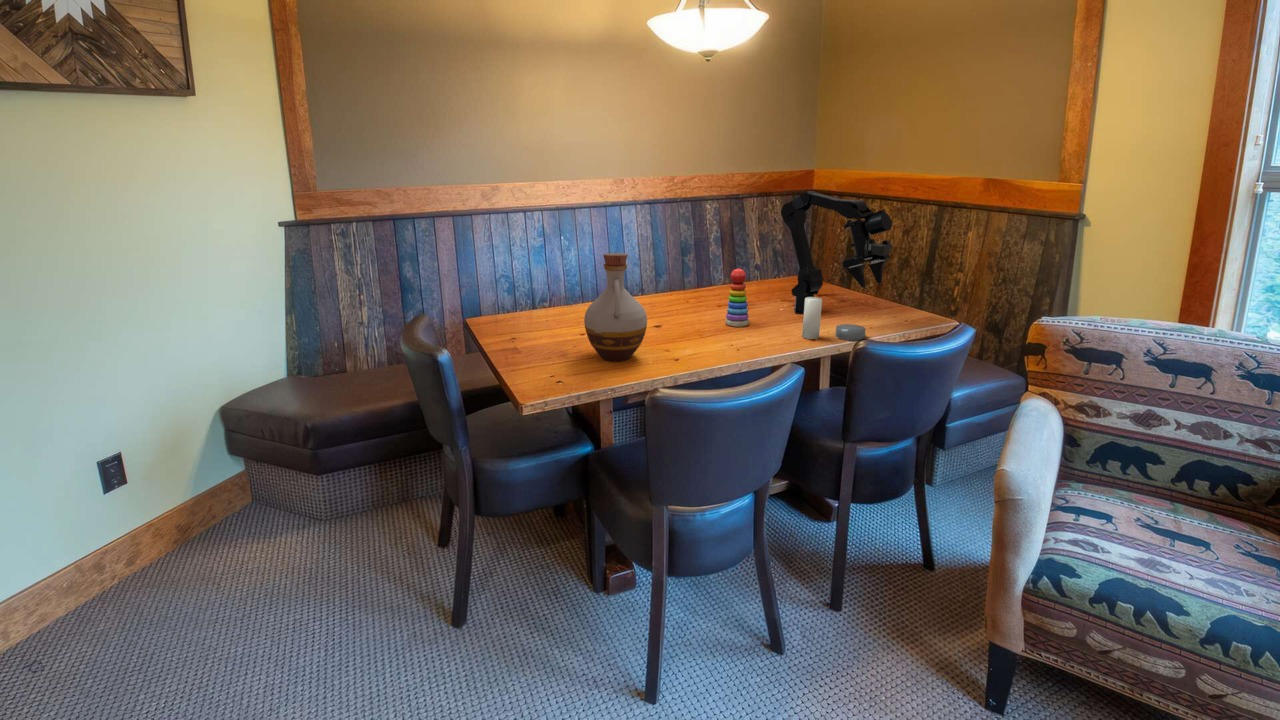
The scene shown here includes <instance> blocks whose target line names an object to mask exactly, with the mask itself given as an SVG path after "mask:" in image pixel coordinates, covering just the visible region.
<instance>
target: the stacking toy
mask: <svg viewBox="0 0 1280 720" xmlns="http://www.w3.org/2000/svg"><path fill="white" fill-rule="evenodd" d="M730 279H731V281H732V283H731V284H730V287H729V288H730V290H729V293H728V294H729V296H728V301H727V305H728V306H727V309H726V312H727V313H726V314H725V317H726V318H725V322H724V323H725V324H726V325H727V326H730V327H735V328H736V327H739V328H741V327H746V326H748V325H749V324H750V320H749V313H748V312H749V308H748V304H749V303H748V301H747V300H748V297H747V291H746V287H747V286H746V283H744V282H745V281H746V279H747V274H746V272H745V271H744V269H742V268H736V269H734V270H732V271H731V273H730Z"/></svg>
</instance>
